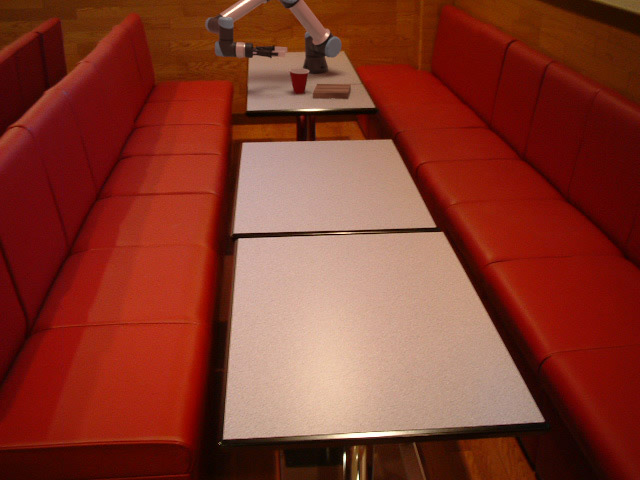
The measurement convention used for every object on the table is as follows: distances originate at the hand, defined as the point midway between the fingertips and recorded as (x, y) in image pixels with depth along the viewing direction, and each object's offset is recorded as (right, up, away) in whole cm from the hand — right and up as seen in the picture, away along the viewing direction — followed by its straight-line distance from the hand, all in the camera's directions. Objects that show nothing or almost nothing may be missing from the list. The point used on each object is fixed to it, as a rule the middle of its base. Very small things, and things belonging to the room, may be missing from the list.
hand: (286, 52), depth 329 cm
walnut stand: (+24, -20, +5) cm, 32 cm away
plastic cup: (+7, -19, +9) cm, 22 cm away
